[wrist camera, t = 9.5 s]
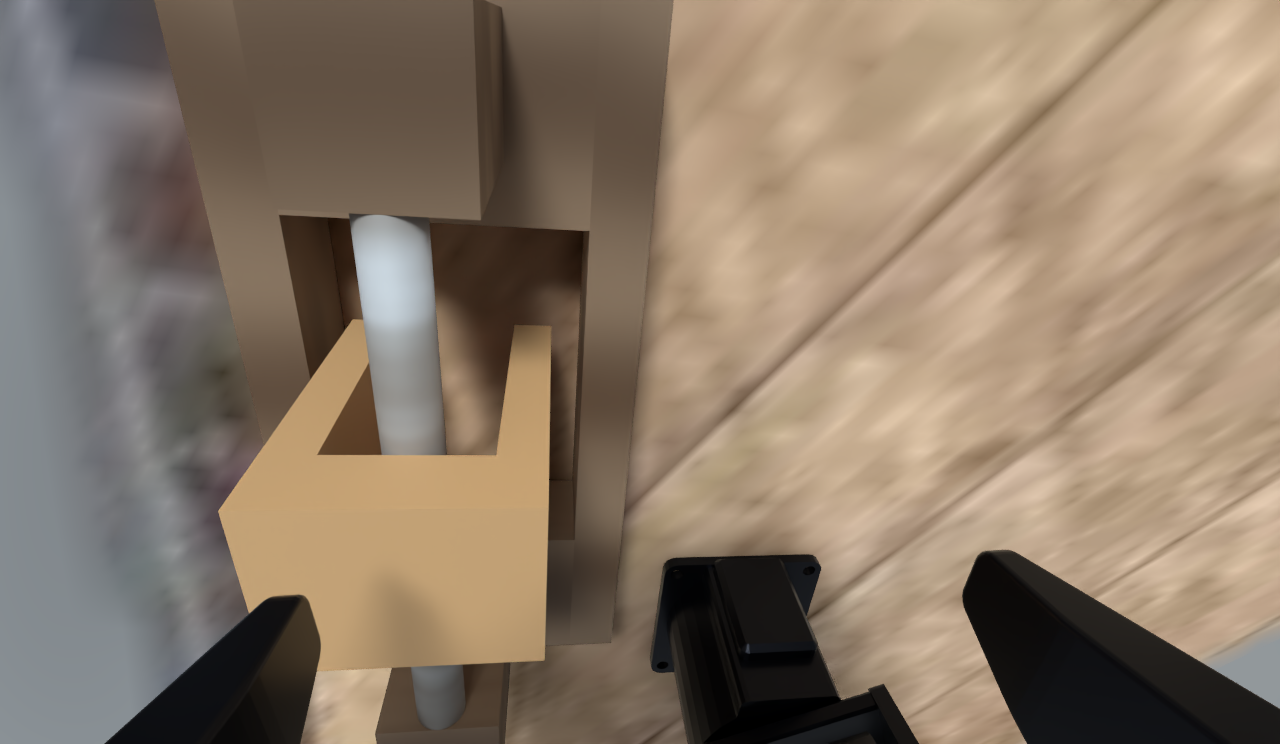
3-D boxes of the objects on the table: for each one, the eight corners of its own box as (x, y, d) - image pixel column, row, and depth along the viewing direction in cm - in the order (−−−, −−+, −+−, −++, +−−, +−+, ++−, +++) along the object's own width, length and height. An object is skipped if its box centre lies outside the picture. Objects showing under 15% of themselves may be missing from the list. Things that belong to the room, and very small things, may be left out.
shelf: (605, 578, 25) (624, 791, 18) (342, 586, 23) (252, 821, 16) (654, 3, 15) (734, -20, 8) (216, -45, 14) (-120, -119, 7)
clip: (548, 444, 19) (544, 660, 12) (370, 443, 18) (267, 673, 12) (551, 326, 17) (548, 507, 11) (352, 319, 16) (217, 511, 10)
